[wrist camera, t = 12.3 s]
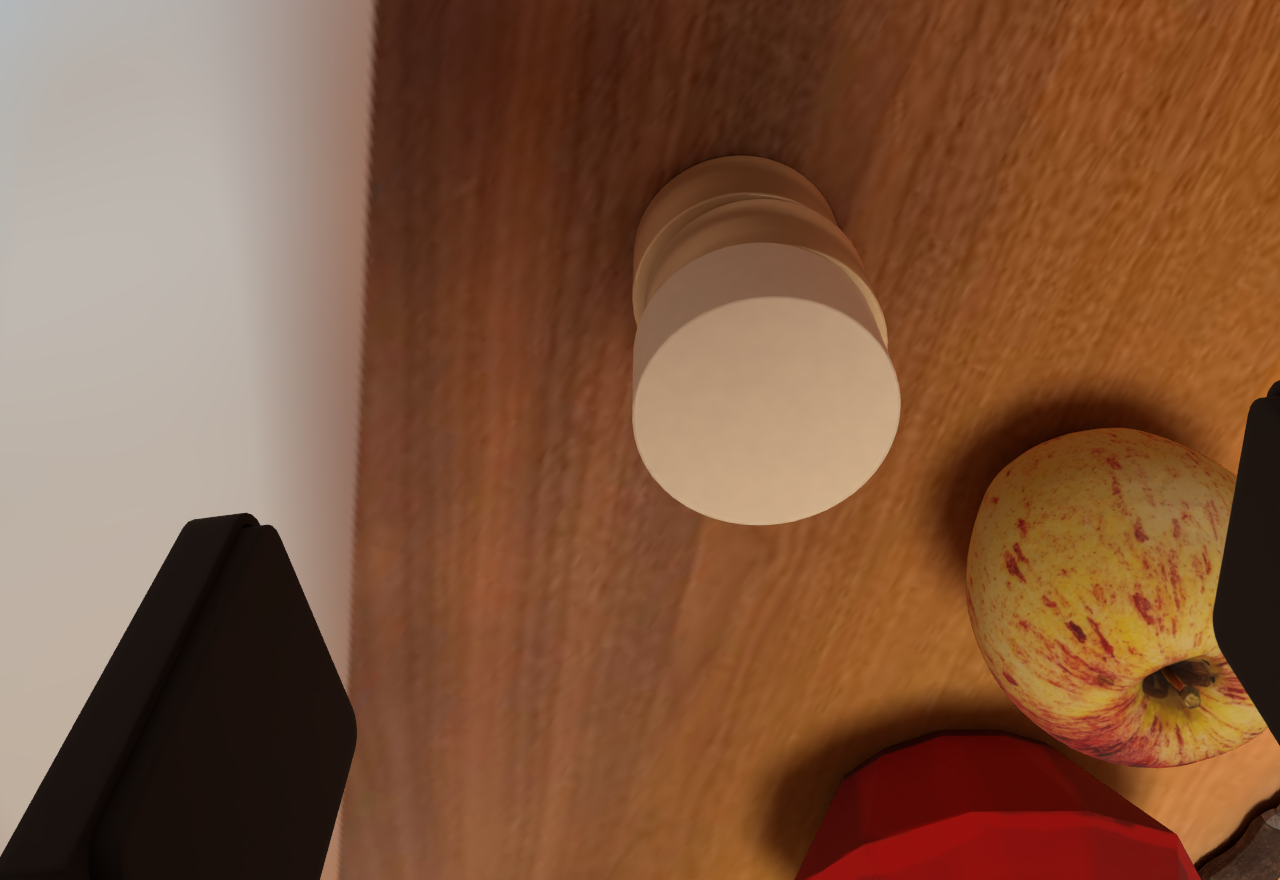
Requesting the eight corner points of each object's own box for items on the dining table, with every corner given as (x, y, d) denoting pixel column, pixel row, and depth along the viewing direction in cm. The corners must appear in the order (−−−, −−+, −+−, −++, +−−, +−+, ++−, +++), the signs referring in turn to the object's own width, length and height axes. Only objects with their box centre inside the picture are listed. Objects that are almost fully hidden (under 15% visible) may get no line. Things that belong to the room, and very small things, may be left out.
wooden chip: (652, 470, 29) (653, 540, 26) (614, 261, 26) (611, 318, 23) (881, 440, 28) (904, 509, 26) (872, 223, 25) (897, 278, 23)
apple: (920, 599, 39) (996, 835, 31) (940, 379, 34) (1037, 588, 26) (1179, 585, 39) (1328, 821, 30) (1237, 361, 34) (1432, 568, 26)
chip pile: (650, 364, 34) (652, 473, 29) (617, 171, 31) (612, 257, 26) (855, 336, 34) (892, 443, 28) (843, 137, 30) (883, 218, 25)
